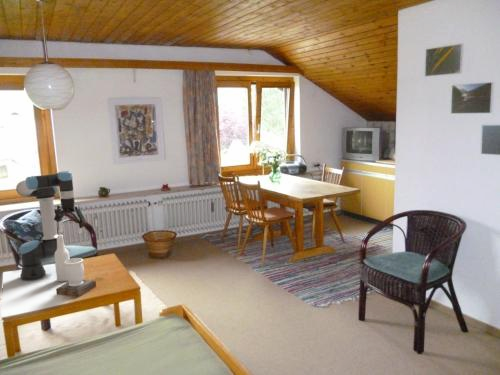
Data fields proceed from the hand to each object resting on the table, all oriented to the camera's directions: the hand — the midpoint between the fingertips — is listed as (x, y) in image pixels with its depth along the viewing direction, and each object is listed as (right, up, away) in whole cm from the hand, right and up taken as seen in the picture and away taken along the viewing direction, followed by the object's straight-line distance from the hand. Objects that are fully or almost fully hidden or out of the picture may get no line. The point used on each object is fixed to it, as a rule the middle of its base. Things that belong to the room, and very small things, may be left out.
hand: (70, 232), depth 257 cm
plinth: (+1, -36, +6) cm, 37 cm away
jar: (+1, -32, +6) cm, 33 cm away
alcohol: (-14, -33, +24) cm, 44 cm away
